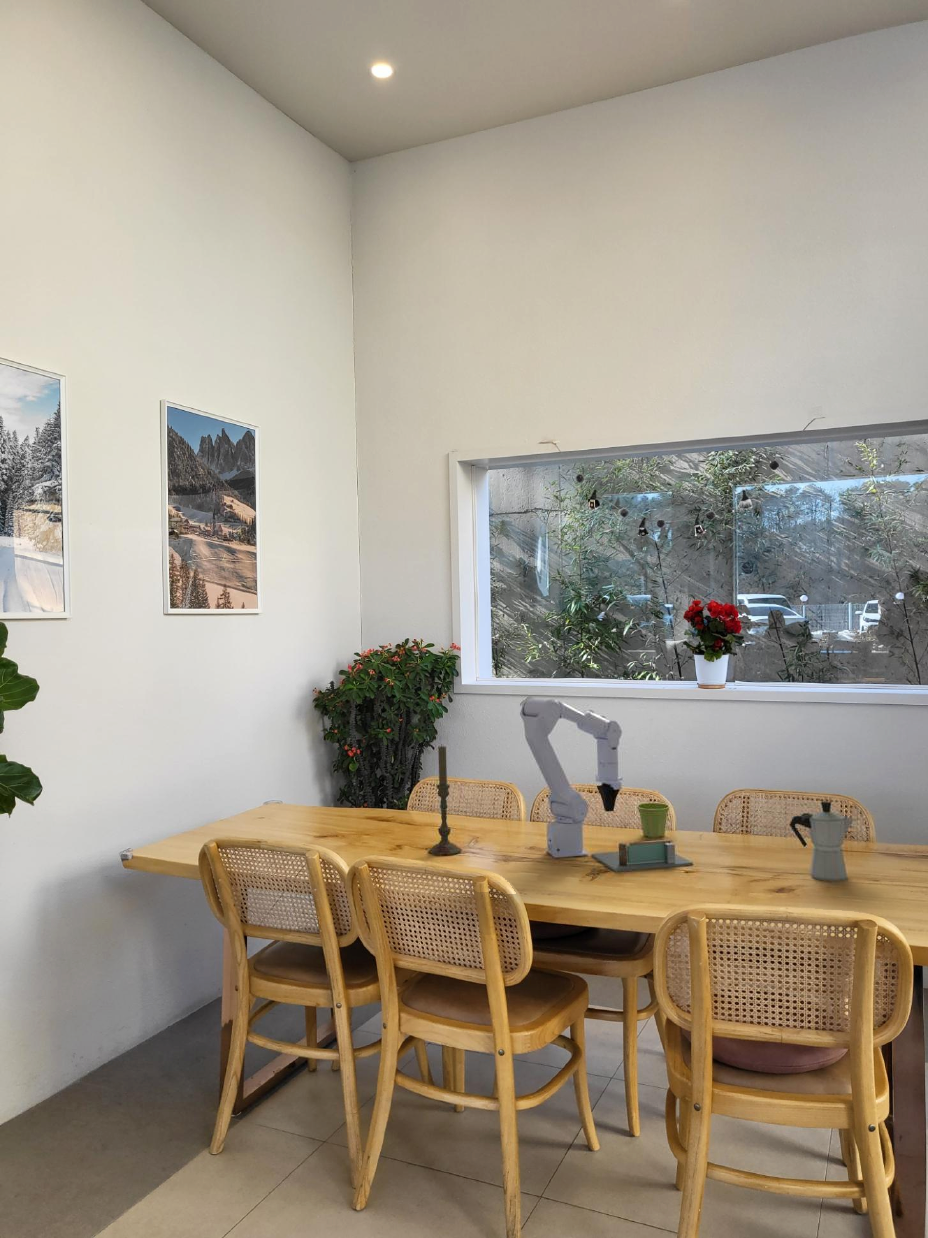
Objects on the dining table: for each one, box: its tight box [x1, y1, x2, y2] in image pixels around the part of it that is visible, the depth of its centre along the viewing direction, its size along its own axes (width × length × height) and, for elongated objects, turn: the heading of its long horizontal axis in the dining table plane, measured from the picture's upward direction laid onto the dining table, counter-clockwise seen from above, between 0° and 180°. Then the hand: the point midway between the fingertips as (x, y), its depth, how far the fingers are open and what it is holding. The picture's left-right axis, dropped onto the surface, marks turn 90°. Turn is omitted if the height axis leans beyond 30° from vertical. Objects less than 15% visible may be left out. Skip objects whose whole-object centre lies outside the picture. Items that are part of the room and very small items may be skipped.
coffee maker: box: [789, 800, 855, 882], centre depth 225 cm, size 15×9×18 cm, turn 77°
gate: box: [627, 839, 674, 864], centre depth 240 cm, size 12×1×5 cm, turn 102°
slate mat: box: [591, 850, 694, 873], centre depth 244 cm, size 21×17×1 cm
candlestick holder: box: [428, 743, 462, 857], centre depth 259 cm, size 9×9×30 cm
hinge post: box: [618, 842, 628, 866], centre depth 238 cm, size 2×2×6 cm
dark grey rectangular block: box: [664, 843, 676, 864], centre depth 239 cm, size 2×2×6 cm
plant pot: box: [636, 802, 670, 839], centre depth 272 cm, size 9×9×9 cm
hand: (609, 811), depth 263 cm, fingers closed
